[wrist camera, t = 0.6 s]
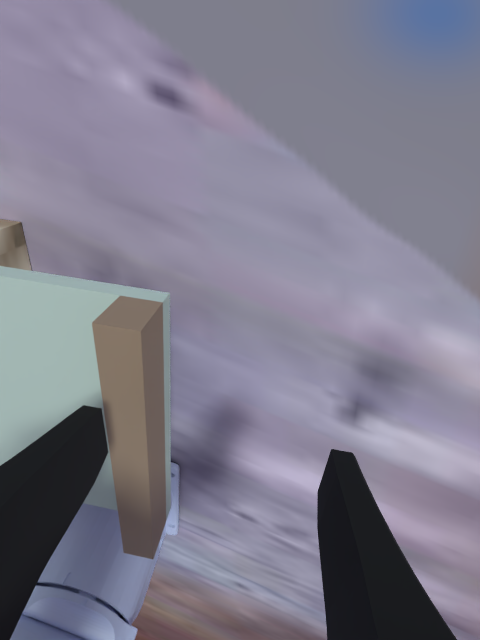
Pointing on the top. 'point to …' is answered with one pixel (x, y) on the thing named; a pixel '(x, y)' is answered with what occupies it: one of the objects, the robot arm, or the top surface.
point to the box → (13, 246)
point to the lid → (93, 385)
